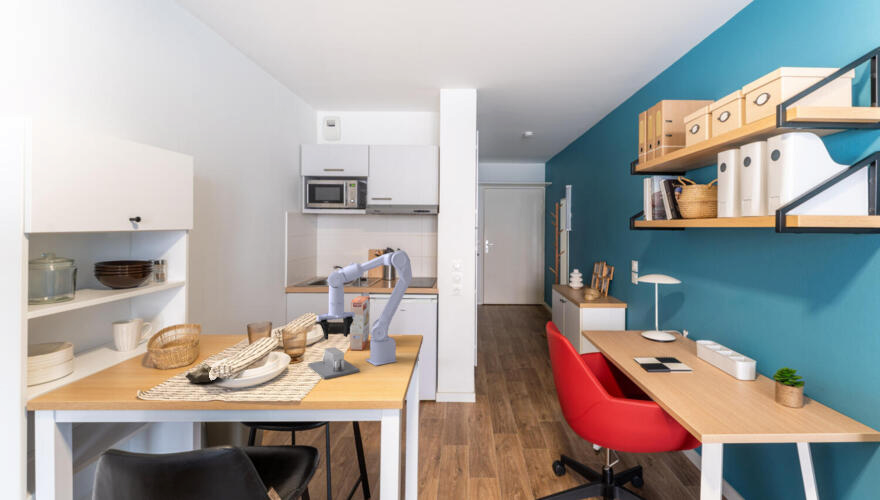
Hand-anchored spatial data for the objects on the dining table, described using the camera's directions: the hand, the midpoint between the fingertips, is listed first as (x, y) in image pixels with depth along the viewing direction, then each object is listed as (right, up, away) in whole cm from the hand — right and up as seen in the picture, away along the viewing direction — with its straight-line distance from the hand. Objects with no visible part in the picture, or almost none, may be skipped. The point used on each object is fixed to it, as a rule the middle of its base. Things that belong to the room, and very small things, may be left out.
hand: (336, 337), depth 157 cm
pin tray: (+1, -10, -7) cm, 12 cm away
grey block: (+1, -9, -8) cm, 12 cm away
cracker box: (+5, -9, +22) cm, 24 cm away
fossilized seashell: (-38, -10, -21) cm, 45 cm away
